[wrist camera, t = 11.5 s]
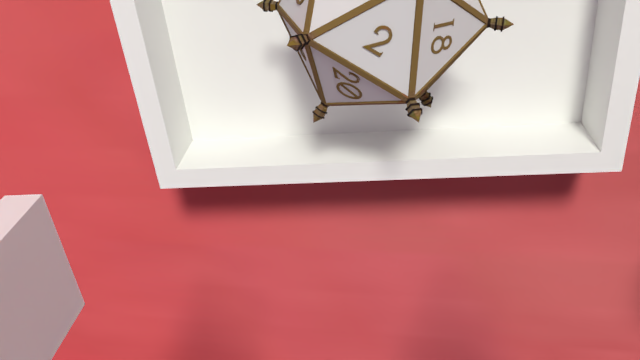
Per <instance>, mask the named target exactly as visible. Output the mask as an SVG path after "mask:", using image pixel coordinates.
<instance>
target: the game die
mask: <svg viewBox="0 0 640 360" xmlns="http://www.w3.org/2000/svg"><path fill="white" fill-rule="evenodd" d="M256 5H257V6H259V7H260V8H261V9H263V11H264V12H268V11H269V12H273V11H274V10H277V11H278V13H279V15H280V17H281V19H282V21H283V23H284V25H285V27H286V30H287V32H288V34H289V36H290V40H289V42H288V44H287V46H288V47H291V48H292V49H294V50H295V51H296V52H298V55H299V57H300V59H301V61H302V63H303V65H304V67H305V69H306V71H307V73H308V75H309V77H310V80H311V82H312V84H313V86H314V88H315V90H316V92H317V94H318V96H319V98H320V100H321V103H320V104H319V105H318V106H316V107H315V108H316V109H315V110H314V111H312V113H313V123H314V122H316V121H318V120H320V119H324V118H325V117H324V116H325V114H327V108H328V107H329V106H349V105H384V104H407V108H406V109H405V110H406V111H408V114H407V116H408V117H411V118H413V119H414V120H416V121H417V122H419V120H420V116H421V115H422V108H420V103H417V101H416V100H417V99H418V98H419V99H420V100H421V104H422V105H424V106H428V107H430V108H431V104H432V101H433V96H432V97H431V93H428V92H427V90H428V89H429V88H430V87H431V86H432V85H433V84H434V83H435V82H436V81H437V80H438V79H439V78H440V77H441V76H442V74H443V73H444V72H445V71H446V70H447V69H448V68H449V67H450V66H451V65H452V64H453V63H454V62H455V61H456V60H457V59H458V58H459V57H460V56H461V55H462V53H463V52H464V51H465V50H466V49H467V48H468V47H469V46H470V45H471V44H472V43H473V42H474V41H475V40H476V39H477V38H478V37H479V36H480V35H481V34H482V32H483V31H484V30H485V29H486V28H489V27H490V28H492V29H494V31H496V30H501V32H502V30H504V29H506V28H508V27H510V26H512V25H514V24H513V23H511V22H510V21H508V20H507V19H505V18H504V16H503V18H498V16H496V18H488V16H487V14H486V12H485V9H484V7H483V5H482V3H481V0H279V1H277V2H276V1H274V0H263V1H261V2H260V3H258V4H256Z"/></svg>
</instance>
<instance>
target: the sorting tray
mask: <svg viewBox="0 0 640 360" xmlns="http://www.w3.org/2000/svg"><path fill="white" fill-rule="evenodd" d="M261 1H263V0H110V3H111V7H112V11H113V14H114V18H115V22H116V26H117V29H118V33H119V37H120V40H121V44H122V48H123V51H124V55H125V59H126V63H127V66H128V70H129V74H130V77H131V81H132V85H133V89H134V92H135V96H136V100H137V103H138V107H139V111H140V115H141V118H142V122H143V126H144V129H145V133H146V137H147V141H148V144H149V148H150V152H151V155H152V159H153V163H154V166H155V170H156V174H157V178H158V181H159V185H160V189H163V188H190V187H217V186H243V185H270V184H297V183H324V182H350V181H377V180H404V179H431V178H458V177H484V176H511V175H538V174H565V173H591V172H618V171H622V166H623V161H624V156H625V150H626V145H627V140H628V135H629V129H630V124H631V119H632V113H633V108H634V103H635V98H636V92H637V87H638V82H639V76H640V0H481V3H482V5H483V7H484V9H485V12H486V14H487V16H488V18H496V16H498V18H503V16H504V18H505V19H507V20H508V21H510V22H511V23H513V24H514V25H512V26H510V27H508V28H506V29H504V30H502V32H501V30H496V31H494V29H492V28H490V27H489V28H486V29H485V30H484V31H483V32H482V34H481V35H480V36H479V37H478V38H477V39H476V40H475V41H474V42H473V43H472V44H471V45H470V46H469V47H468V48H467V49H466V50H465V51H464V52H463V53H462V55H461V56H460V57H459V58H458V59H457V60H456V61H455V62H454V63H453V64H452V65H451V66H450V67H449V68H448V69H447V70H446V71H445V72H444V73H443V74H442V76H441V77H440V78H439V79H438V80H437V81H436V82H435V83H434V84H433V85H432V86H431V87H430V88H429V89H428V90H427V92H428V93H431V97H432V96H433V101H432V104H431V108H430V107H428V106H424V105H422V104H421V100H420V99H419V98H418V99H417V100H416V101H417V103H420V108H422V115H421V116H420V120H419V122H417V121H416V120H414V119H413V118H411V117H408V116H407V114H408V111H406V110H405V109H406V108H407V104H384V105H349V106H329V107H328V108H327V114H325V116H324V117H325V118H324V119H320V120H318V121H316V122H314V123H313V113H312V111H314V110H315V109H316V108H315V107H316V106H318V105H319V104H320V103H321V100H320V98H319V96H318V94H317V92H316V90H315V88H314V86H313V84H312V82H311V80H310V77H309V75H308V73H307V71H306V69H305V67H304V65H303V63H302V61H301V59H300V57H299V55H298V52H296V51H295V50H294V49H292V48H291V47H288V46H287V44H288V42H289V40H290V36H289V34H288V32H287V30H286V27H285V25H284V23H283V21H282V19H281V17H280V15H279V13H278V11H277V10H274V11H273V12H269V11H268V12H264V11H263V9H261V8H260V7H259V6H257V5H256V4H258V3H260V2H261ZM274 1H276V2H277V1H279V0H274Z"/></svg>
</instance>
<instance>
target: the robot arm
mask: <svg viewBox="0 0 640 360" xmlns="http://www.w3.org/2000/svg"><path fill="white" fill-rule="evenodd" d="M84 305H85V303H84V300H83V297H82V295H81V292H80V290H79V287H78V285H77V282H76V280H75V277H74V274H73V272H72V269H71V267H70V264H69V262H68V259H67V257H66V254H65V251H64V249H63V246H62V244H61V241H60V239H59V236H58V233H57V231H56V228H55V226H54V223H53V221H52V218H51V216H50V213H49V210H48V208H47V205H46V203H45V200H44V198H43V195H42V194H36V195H11V196H4V197H3V198H2V199H1V200H0V360H51V359H52V358H53V356H54V355H55V353H56V351H57V350H58V348H59V346H60V345H61V343H62V341H63V340H64V338H65V336H66V335H67V333H68V331H69V330H70V328H71V326H72V325H73V323H74V321H75V320H76V318H77V316H78V315H79V313H80V311H81V310H82V308H83V306H84Z"/></svg>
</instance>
